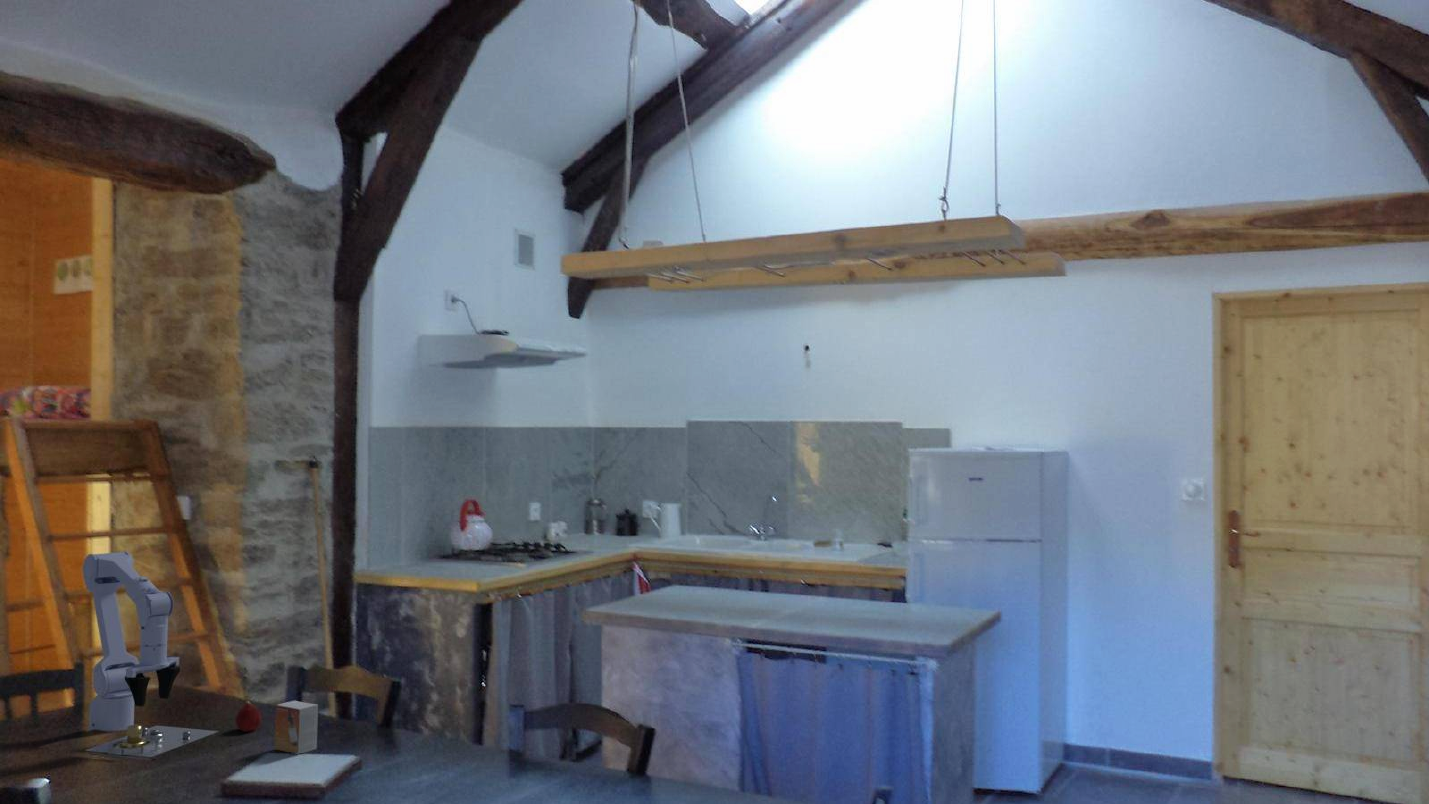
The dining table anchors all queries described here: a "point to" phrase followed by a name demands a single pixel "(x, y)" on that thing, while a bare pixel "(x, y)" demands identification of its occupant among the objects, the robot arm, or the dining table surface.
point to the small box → (296, 727)
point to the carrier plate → (152, 742)
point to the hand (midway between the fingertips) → (152, 702)
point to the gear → (134, 737)
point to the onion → (248, 718)
